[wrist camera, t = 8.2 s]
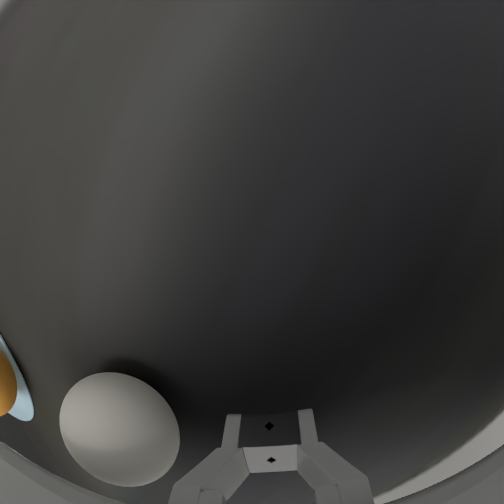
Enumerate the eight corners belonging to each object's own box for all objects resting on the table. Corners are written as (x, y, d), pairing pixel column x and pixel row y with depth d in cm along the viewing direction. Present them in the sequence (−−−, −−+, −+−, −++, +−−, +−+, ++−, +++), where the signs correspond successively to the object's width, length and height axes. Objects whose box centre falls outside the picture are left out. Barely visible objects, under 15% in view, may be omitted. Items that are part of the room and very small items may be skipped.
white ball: (17, 399, 6) (92, 342, 10) (78, 475, 7) (129, 417, 12) (97, 457, 4) (180, 358, 9) (165, 522, 6) (211, 440, 10)
